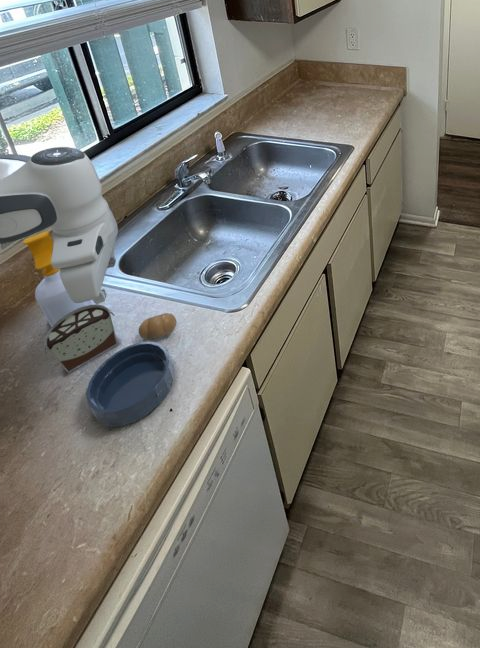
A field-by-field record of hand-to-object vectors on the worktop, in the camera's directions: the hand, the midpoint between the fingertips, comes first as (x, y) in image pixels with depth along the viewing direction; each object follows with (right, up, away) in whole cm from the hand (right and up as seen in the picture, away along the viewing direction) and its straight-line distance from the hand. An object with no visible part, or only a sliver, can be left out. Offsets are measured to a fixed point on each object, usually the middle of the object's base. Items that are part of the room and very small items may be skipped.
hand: (106, 281), depth 87 cm
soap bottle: (-20, -15, +18) cm, 31 cm away
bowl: (+5, -23, +2) cm, 23 cm away
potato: (+3, -17, +14) cm, 22 cm away
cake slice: (-10, -19, +10) cm, 24 cm away
